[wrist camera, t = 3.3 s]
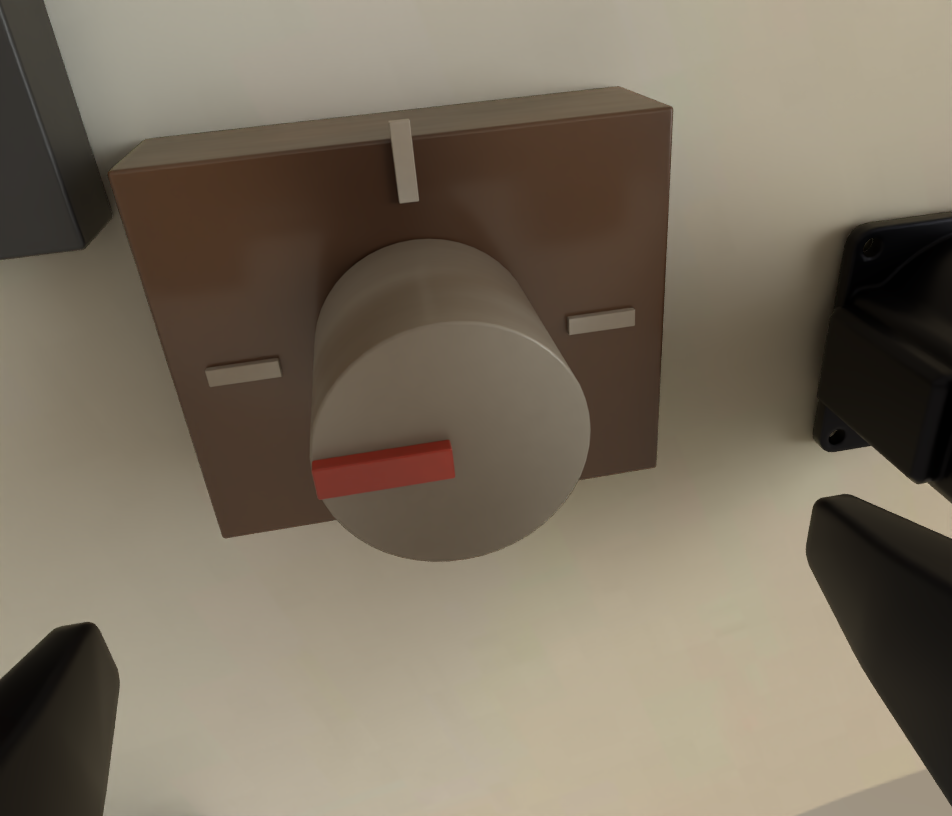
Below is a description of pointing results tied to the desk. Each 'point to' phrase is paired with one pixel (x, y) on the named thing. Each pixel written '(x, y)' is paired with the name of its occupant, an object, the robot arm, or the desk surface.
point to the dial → (440, 405)
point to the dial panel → (383, 224)
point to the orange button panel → (42, 144)
